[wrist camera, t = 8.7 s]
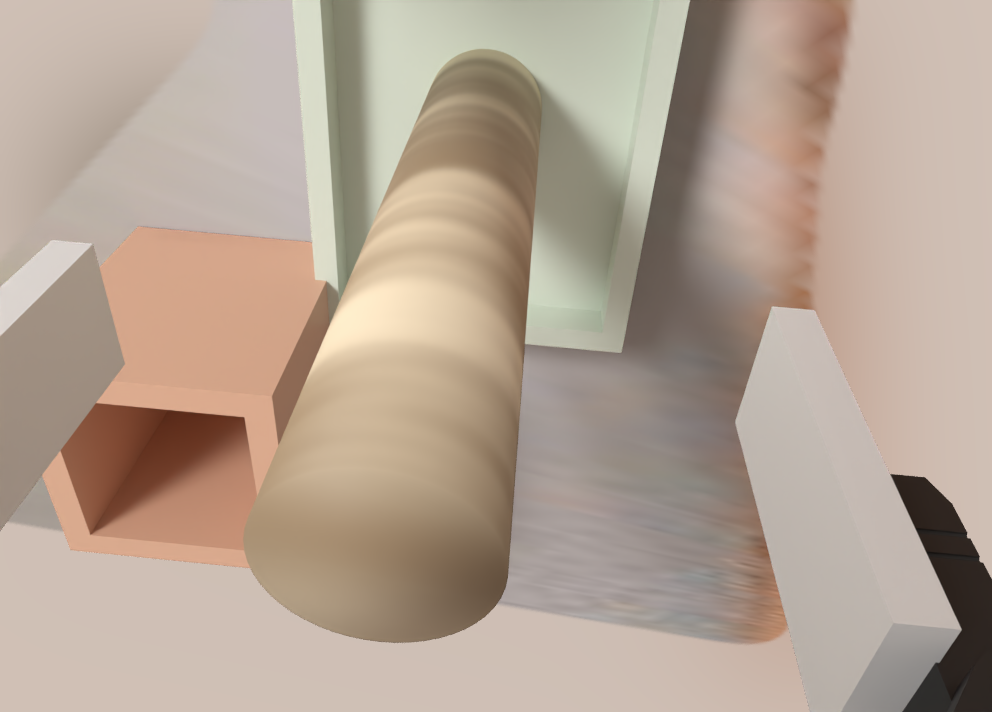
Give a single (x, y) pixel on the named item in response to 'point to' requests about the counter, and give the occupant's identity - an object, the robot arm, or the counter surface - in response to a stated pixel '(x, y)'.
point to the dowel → (417, 384)
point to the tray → (563, 136)
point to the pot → (190, 394)
